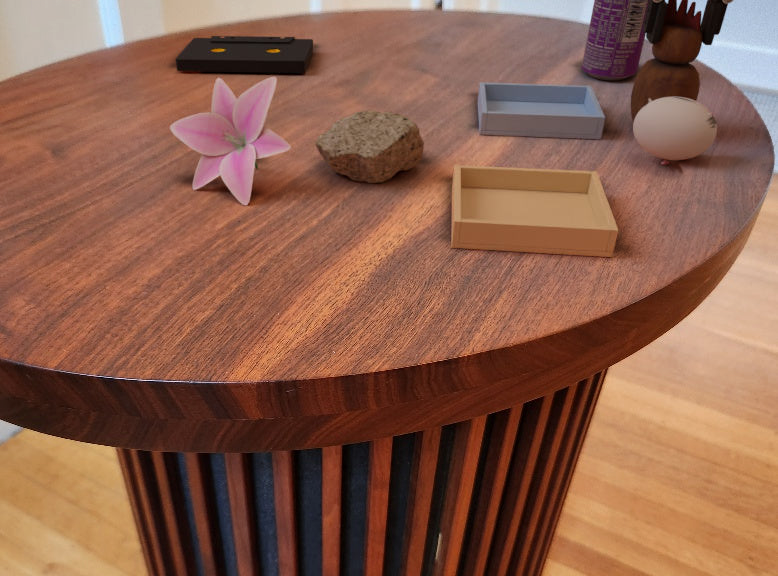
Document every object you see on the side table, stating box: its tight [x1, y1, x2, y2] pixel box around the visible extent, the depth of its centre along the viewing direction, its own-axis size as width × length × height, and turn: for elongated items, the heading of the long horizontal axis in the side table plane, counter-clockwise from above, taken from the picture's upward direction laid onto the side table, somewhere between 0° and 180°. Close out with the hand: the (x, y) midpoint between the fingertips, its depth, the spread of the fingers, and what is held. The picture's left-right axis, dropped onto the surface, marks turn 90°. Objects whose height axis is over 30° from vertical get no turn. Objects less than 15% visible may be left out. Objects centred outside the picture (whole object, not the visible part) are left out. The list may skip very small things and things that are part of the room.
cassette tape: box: [175, 35, 314, 74], centre depth 111 cm, size 18×12×2 cm, turn 84°
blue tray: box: [477, 81, 606, 140], centre depth 90 cm, size 13×11×2 cm
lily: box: [169, 76, 292, 206], centre depth 75 cm, size 12×12×10 cm
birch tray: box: [450, 164, 619, 258], centre depth 69 cm, size 13×12×2 cm
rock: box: [314, 110, 425, 184], centre depth 77 cm, size 10×8×8 cm
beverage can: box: [581, 0, 649, 81], centre depth 101 cm, size 7×7×12 cm
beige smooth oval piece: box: [632, 96, 718, 166], centre depth 78 cm, size 8×6×7 cm
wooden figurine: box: [630, 0, 703, 124], centre depth 83 cm, size 7×6×15 cm
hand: (678, 39), depth 81 cm, fingers closed on wooden figurine, 4 cm apart
